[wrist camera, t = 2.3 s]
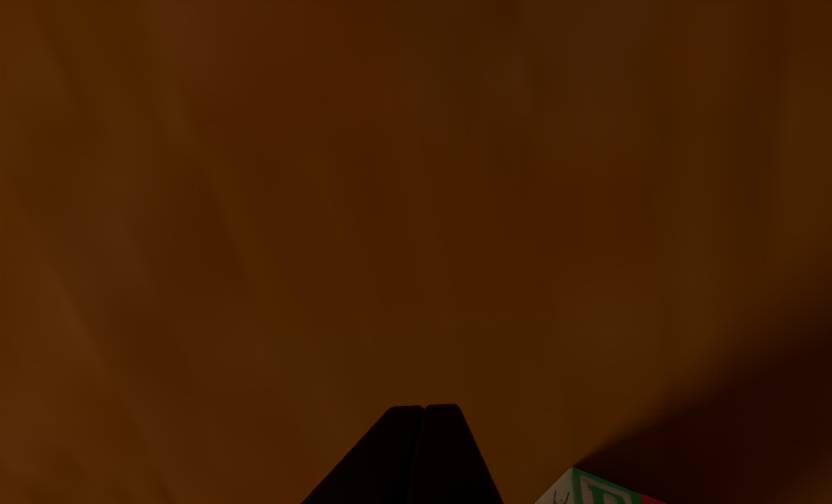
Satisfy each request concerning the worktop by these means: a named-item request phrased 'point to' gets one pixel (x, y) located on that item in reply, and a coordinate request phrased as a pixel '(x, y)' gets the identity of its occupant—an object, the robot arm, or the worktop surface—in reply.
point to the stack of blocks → (590, 491)
